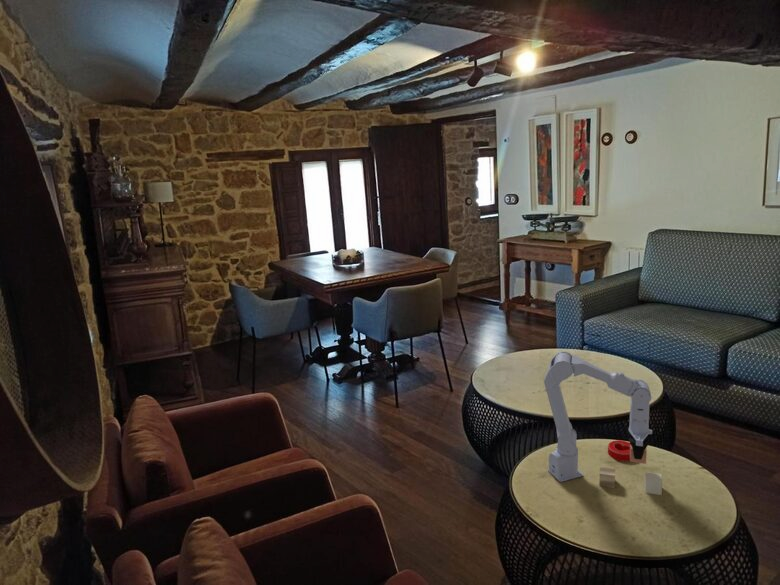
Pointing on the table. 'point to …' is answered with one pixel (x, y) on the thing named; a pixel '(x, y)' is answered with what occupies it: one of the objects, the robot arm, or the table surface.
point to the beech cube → (607, 476)
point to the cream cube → (653, 483)
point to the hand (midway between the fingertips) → (637, 454)
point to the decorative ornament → (624, 450)
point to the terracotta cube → (637, 459)
